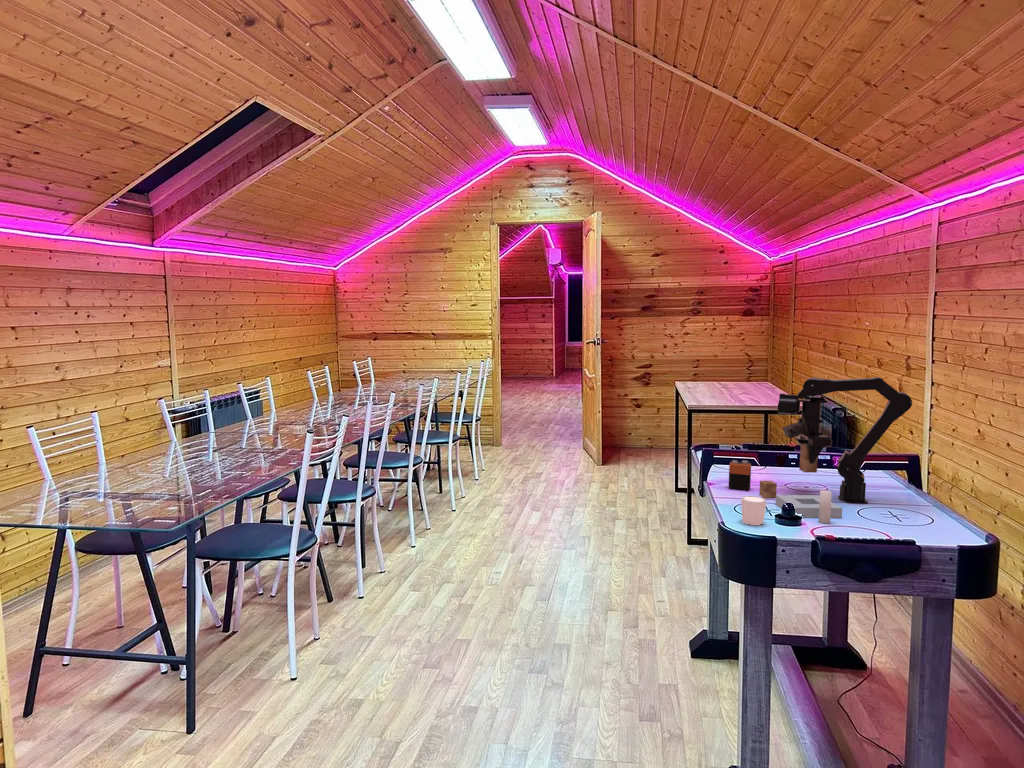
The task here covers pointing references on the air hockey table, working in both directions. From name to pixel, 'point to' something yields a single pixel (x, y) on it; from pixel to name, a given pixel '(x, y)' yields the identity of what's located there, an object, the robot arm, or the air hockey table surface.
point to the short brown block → (768, 489)
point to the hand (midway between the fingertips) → (808, 462)
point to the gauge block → (812, 505)
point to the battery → (739, 475)
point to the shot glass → (753, 510)
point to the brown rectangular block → (806, 460)
